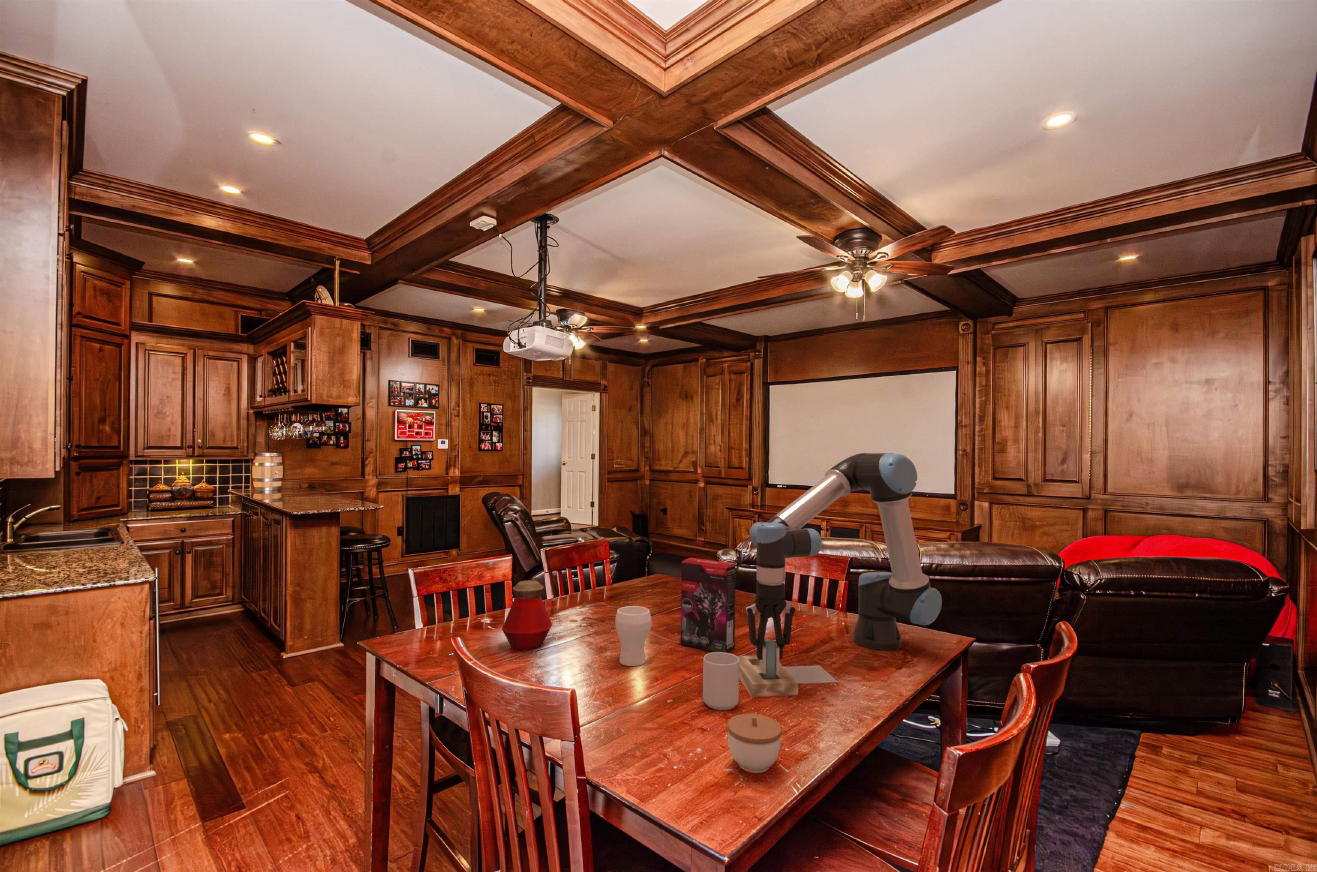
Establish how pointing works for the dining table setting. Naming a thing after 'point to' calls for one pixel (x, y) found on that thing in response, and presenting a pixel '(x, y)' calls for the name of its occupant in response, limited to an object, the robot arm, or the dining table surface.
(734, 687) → the mug
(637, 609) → the cup
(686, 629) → the graphics card box
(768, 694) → the hole block
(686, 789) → the dining table surface
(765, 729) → the lidded jar
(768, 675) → the peg
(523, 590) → the bottle
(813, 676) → the mat
